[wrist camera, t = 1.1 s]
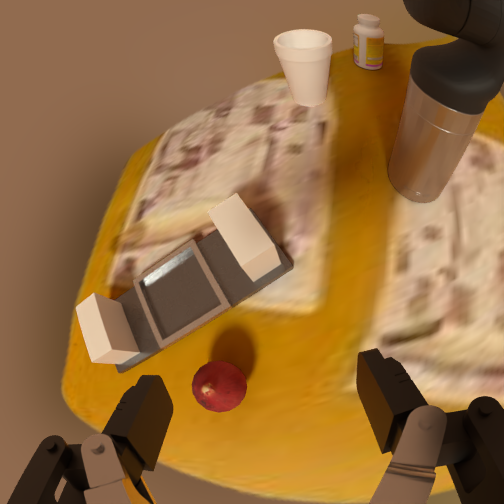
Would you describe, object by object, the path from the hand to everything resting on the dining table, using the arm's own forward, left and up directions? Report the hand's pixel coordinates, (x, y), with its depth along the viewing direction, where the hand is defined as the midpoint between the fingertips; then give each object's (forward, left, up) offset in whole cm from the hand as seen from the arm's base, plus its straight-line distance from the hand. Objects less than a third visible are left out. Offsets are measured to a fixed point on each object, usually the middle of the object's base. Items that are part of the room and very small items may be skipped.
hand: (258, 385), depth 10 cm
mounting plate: (-2, -17, -22) cm, 27 cm away
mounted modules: (-2, -17, -22) cm, 27 cm away
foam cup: (-43, -13, -22) cm, 50 cm away
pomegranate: (+5, -6, -22) cm, 23 cm away
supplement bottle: (-61, -4, -22) cm, 65 cm away
